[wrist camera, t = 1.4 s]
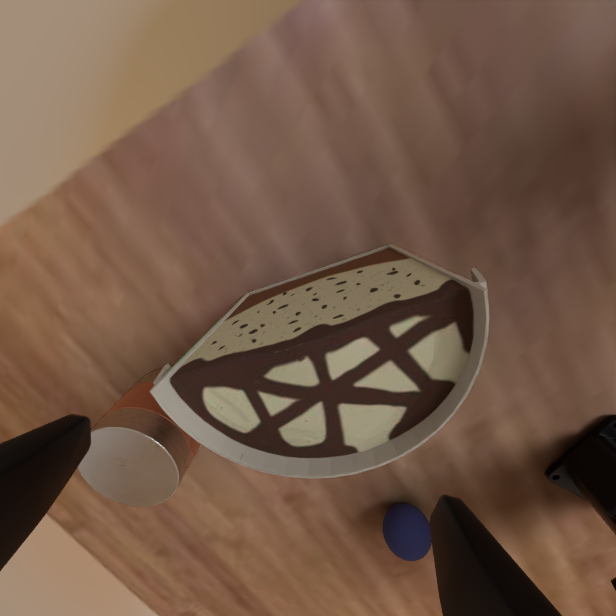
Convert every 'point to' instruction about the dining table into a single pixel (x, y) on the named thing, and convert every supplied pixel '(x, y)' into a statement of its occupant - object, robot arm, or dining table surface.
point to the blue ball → (407, 532)
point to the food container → (333, 366)
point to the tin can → (137, 450)
